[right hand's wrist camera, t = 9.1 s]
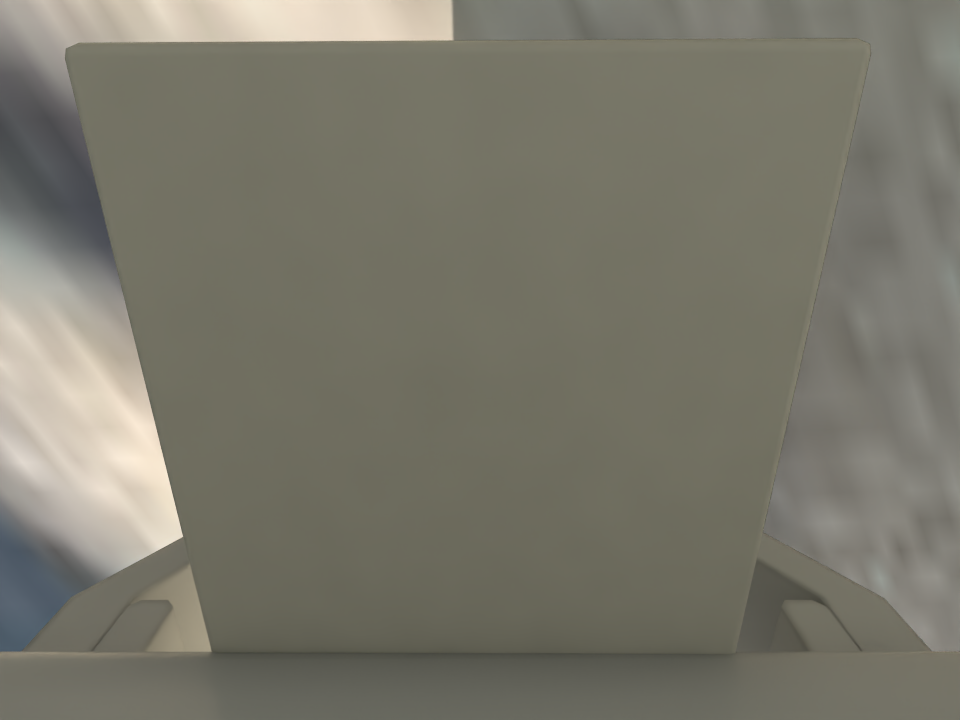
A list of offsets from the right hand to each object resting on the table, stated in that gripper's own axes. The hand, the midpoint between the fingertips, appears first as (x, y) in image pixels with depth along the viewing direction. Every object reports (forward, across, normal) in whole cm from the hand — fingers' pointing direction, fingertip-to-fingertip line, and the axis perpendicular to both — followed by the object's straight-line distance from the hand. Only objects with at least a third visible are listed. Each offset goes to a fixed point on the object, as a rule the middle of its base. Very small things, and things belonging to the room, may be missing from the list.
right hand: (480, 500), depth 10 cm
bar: (+3, 0, -25) cm, 25 cm away
